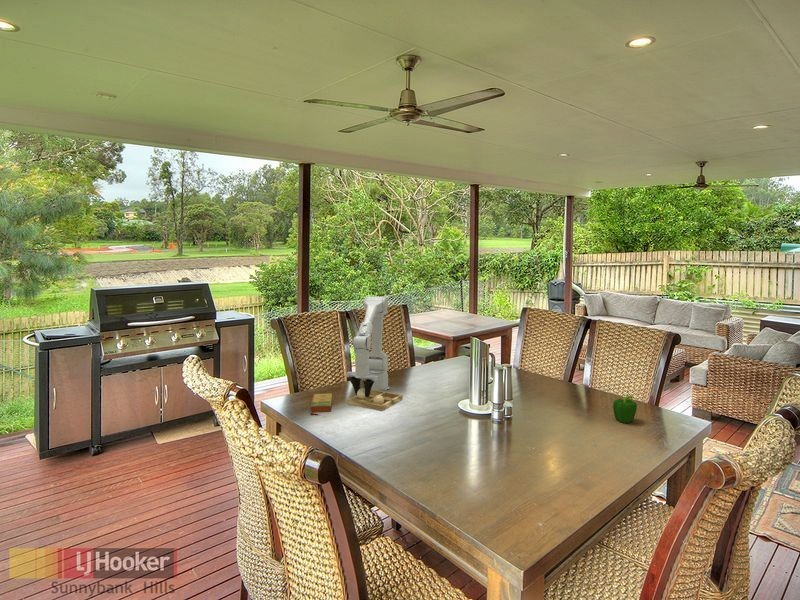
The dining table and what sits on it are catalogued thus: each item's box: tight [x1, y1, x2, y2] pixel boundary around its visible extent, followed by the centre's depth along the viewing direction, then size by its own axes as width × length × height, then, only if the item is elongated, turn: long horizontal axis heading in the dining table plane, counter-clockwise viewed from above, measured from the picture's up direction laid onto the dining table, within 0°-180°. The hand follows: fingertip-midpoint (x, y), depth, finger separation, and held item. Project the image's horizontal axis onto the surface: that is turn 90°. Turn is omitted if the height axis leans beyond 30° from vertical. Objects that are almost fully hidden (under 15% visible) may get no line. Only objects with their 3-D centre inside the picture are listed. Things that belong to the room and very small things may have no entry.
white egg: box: [357, 387, 366, 399], centre depth 205 cm, size 5×5×5 cm
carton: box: [309, 393, 333, 416], centre depth 202 cm, size 8×16×4 cm, turn 6°
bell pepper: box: [612, 395, 638, 424], centre depth 188 cm, size 8×8×10 cm
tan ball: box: [373, 395, 384, 405], centre depth 201 cm, size 5×5×5 cm
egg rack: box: [347, 389, 404, 412], centre depth 207 cm, size 17×17×3 cm
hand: (362, 395), depth 205 cm, fingers closed on white egg, 4 cm apart
